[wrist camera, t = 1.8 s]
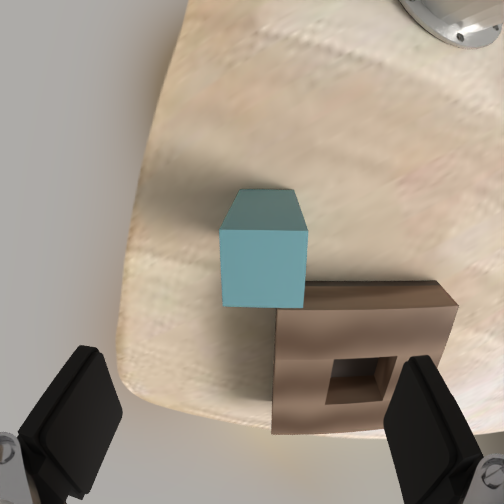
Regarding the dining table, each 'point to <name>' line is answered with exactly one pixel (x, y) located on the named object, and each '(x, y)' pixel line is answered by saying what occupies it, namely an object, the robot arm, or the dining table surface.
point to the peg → (263, 250)
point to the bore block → (352, 351)
